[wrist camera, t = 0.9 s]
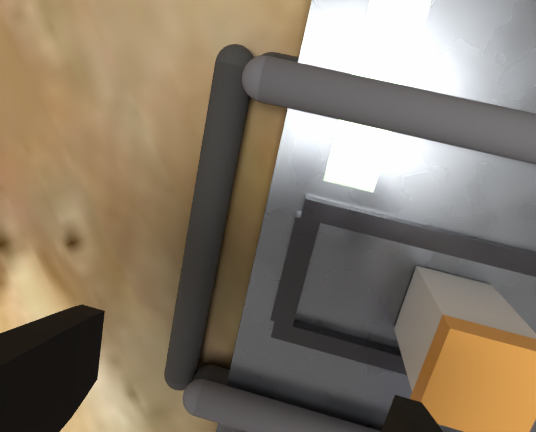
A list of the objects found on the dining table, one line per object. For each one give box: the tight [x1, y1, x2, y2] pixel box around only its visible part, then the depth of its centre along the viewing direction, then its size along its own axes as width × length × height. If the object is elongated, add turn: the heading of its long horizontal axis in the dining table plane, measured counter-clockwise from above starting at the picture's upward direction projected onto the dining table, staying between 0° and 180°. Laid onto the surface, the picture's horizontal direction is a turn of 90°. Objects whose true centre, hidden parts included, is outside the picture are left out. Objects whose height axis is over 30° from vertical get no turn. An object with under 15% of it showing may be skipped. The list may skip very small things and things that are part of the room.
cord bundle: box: [164, 44, 536, 390], centre depth 16 cm, size 17×21×3 cm
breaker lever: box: [394, 266, 536, 432], centre depth 14 cm, size 3×3×5 cm
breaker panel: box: [216, 0, 536, 432], centre depth 17 cm, size 24×16×2 cm, turn 167°
